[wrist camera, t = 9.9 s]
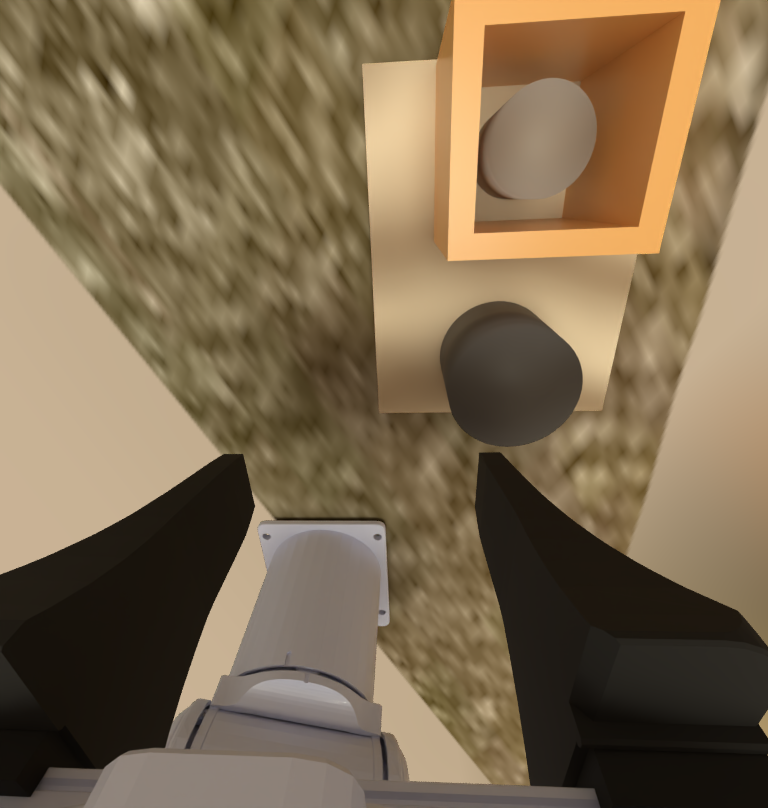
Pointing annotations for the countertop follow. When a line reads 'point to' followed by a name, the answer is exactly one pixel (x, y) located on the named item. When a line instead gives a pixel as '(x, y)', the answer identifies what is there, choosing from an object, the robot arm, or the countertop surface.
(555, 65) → the sleeve
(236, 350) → the countertop surface
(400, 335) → the fitting board
